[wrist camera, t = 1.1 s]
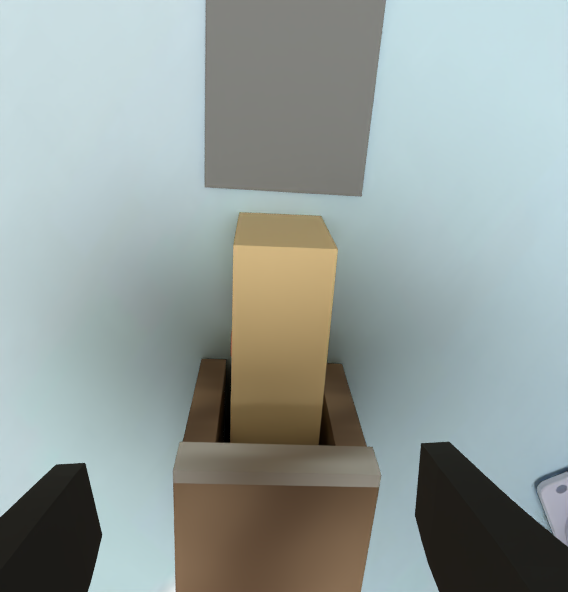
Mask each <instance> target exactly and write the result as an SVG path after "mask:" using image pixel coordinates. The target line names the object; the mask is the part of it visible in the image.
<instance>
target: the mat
mask: <svg viewBox="0 0 568 592" xmlns="http://www.w3.org/2000/svg"><path fill="white" fill-rule="evenodd" d="M385 3H386V0H206V54H205V187H211V188H227V189H244V190H261V191H278V192H295V193H312V194H329V195H346V196H362V188H363V180H364V172H365V164H366V156H367V148H368V139H369V131H370V123H371V115H372V107H373V99H374V91H375V83H376V75H377V67H378V59H379V51H380V43H381V35H382V27H383V19H384V11H385Z"/></svg>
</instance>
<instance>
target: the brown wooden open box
mask: <svg viewBox="0 0 568 592" xmlns="http://www.w3.org/2000/svg"><path fill="white" fill-rule="evenodd" d="M225 390H226V359H202V360H201V364H200V368H199V373H198V377H197V382H196V386H195V390H194V395H193V399H192V403H191V408H190V412H189V417H188V421H187V425H186V430H185V434H184V438H183V442H180V443H179V447H178V451H177V455H176V460H175V464H174V468H173V492H174V536H175V580H176V592H361V587H362V581H363V576H364V570H365V565H366V559H367V553H368V548H369V542H370V536H371V531H372V525H373V519H374V514H375V508H376V502H377V497H378V491H379V486H380V480H381V472H380V469H379V466H378V463H377V460H376V456H375V453H374V450H373V447H367V445H366V442H365V439H364V435H363V432H362V429H361V425H360V422H359V419H358V416H357V412H356V409H355V406H354V402H353V399H352V396H351V392H350V389H349V386H348V382H347V379H346V376H345V372H344V369H343V366H342V364H334V363H327V364H326V375H325V385H324V395H323V405H322V415H321V425H320V435H319V445H285V444H246V443H224V429H225Z"/></svg>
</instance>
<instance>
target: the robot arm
mask: <svg viewBox="0 0 568 592" xmlns="http://www.w3.org/2000/svg"><path fill="white" fill-rule="evenodd" d="M560 485H561V486H560ZM558 486H559V487H558ZM537 493H538V495H539V498H540V501H541V503H542V506H543V509H544V511H545V514H546V517H547V519H548V522H549V525H550V527H551V530H552V533H553V534H551V533H550V532H549V531H548V530H546V529H545V528H544V527H543V526H542V525H540V524H539V523H538V522H537V521H536V520H535V519H533V518H532V517H531V516H530V515H529V514H528V513H526V512H525V511H524V510H523V509H522V508H521V507H520V506H518V505H517V504H516V503H515V502H514V501H513V500H512V499H510V498H509V497H508V496H507V495H506V494H505V493H504V492H503V491H502V490H500V489H499V488H498V487H497V486H496V485H495V484H494V483H493V482H492V481H491V480H490V479H489V478H487V477H486V476H485V475H484V474H483V473H482V472H481V471H480V470H479V469H478V468H477V467H476V466H475V465H474V464H472V463H471V462H470V461H469V460H468V459H467V458H466V457H465V456H464V455H463V454H462V453H461V452H460V451H459V450H457V449H456V448H455V447H454V446H453V445H452V444H451V443H450V442H437V443H421V451H420V463H419V475H418V486H417V498H416V509H415V517H416V521H417V525H418V529H419V532H420V536H421V540H422V544H423V547H424V551H425V554H426V558H427V561H428V564H429V567H430V569H431V572H432V575H433V577H434V580H435V582H436V585H437V587H438V590H439V592H568V471H567V472H564V473H562V474H559V475H557V476H554V477H552V478H549V479H546V480H544V481H542V482H541V483H540V484H539V485H538V487H537ZM101 538H102V532H101V528H100V523H99V519H98V515H97V511H96V507H95V502H94V498H93V494H92V490H91V485H90V481H89V477H88V473H87V468H86V464H85V463H76V464H58V465H55V466H54V467H53V468H52V469H51V470H50V471H49V472H48V473H47V474H45V475H44V476H43V477H42V478H41V479H40V480H39V481H38V482H37V483H36V484H35V485H34V486H33V487H32V488H31V489H30V490H29V491H28V492H26V493H25V494H24V495H23V496H22V497H21V498H20V499H19V500H18V501H17V502H16V503H15V504H14V505H13V506H12V507H11V508H10V509H9V510H8V511H7V512H6V513H4V514H3V515H2V516H1V517H0V592H88V589H89V586H90V583H91V579H92V575H93V571H94V567H95V563H96V559H97V555H98V551H99V546H100V542H101Z"/></svg>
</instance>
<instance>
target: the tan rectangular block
mask: <svg viewBox="0 0 568 592" xmlns="http://www.w3.org/2000/svg"><path fill="white" fill-rule="evenodd" d="M337 253H338V249H337V247H336V245H335V243H334V241H333V239H332V237H331V235H330V233H329V231H328V229H327V227H326V225H325V223H324V221H323V219H322V217H321V216H312V215H289V214H267V213H244V212H239V217H238V223H237V228H236V234H235V239H234V245H233V300H232V333H231V357H232V362H231V423H230V443H246V444H285V445H319V435H320V425H321V415H322V405H323V395H324V385H325V375H326V364H327V354H328V344H329V334H330V324H331V314H332V304H333V294H334V283H335V273H336V263H337Z"/></svg>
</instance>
